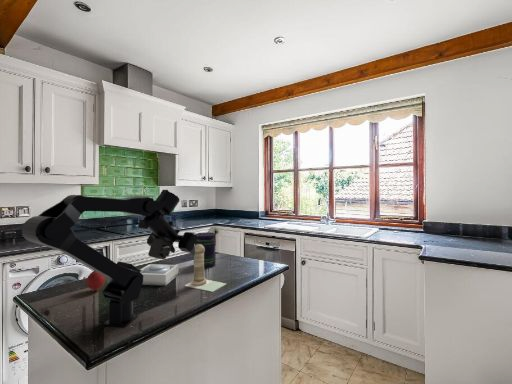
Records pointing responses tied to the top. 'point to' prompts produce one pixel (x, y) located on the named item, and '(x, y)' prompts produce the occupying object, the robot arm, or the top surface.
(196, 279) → the beech pawn
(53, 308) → the top surface
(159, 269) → the dome button
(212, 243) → the dark blue cylinder
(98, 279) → the onion
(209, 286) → the game track
